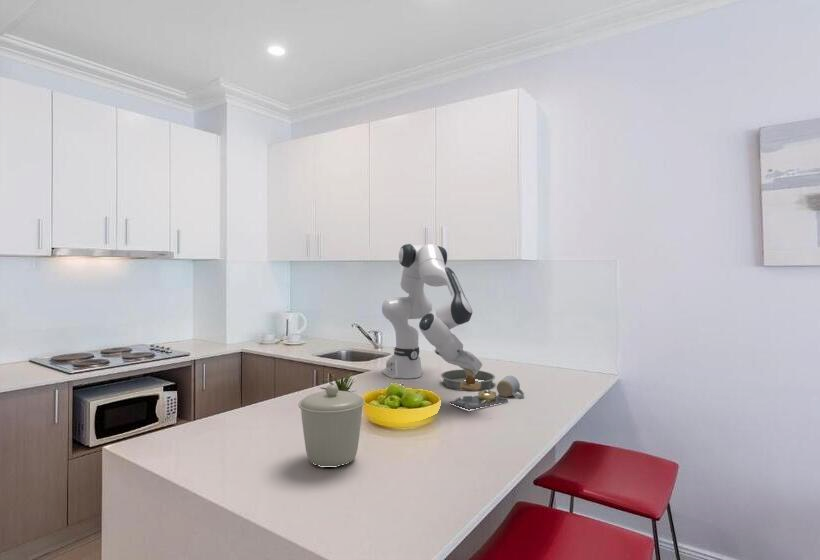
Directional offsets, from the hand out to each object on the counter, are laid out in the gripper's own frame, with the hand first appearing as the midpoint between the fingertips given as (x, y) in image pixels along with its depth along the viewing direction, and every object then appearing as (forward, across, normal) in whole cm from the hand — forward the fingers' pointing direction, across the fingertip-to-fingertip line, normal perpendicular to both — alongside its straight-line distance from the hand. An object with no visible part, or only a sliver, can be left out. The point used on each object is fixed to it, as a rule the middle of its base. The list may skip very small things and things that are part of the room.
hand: (471, 371), depth 180 cm
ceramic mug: (+25, +3, -6) cm, 26 cm away
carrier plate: (+12, 0, +6) cm, 14 cm away
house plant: (-26, +11, +44) cm, 52 cm away
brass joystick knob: (+4, 0, +5) cm, 6 cm away
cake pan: (+22, +27, -3) cm, 35 cm away
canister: (-36, -23, +56) cm, 70 cm away
